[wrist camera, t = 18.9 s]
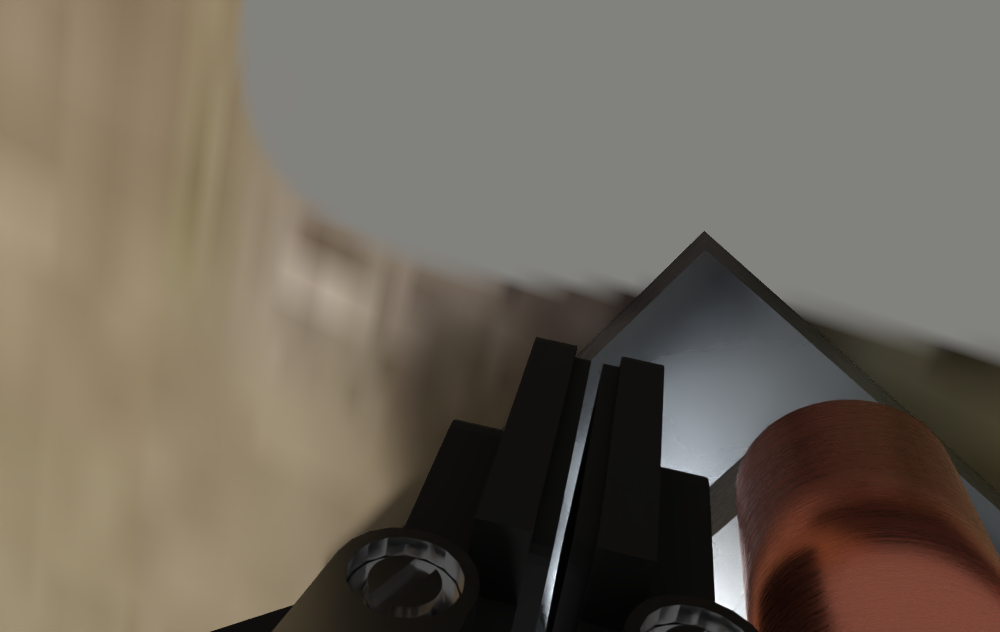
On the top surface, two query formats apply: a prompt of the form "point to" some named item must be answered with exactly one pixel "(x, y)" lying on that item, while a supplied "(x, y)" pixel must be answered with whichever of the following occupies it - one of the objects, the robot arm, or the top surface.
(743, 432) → the bed
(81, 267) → the top surface
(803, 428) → the lever
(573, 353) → the robot arm
